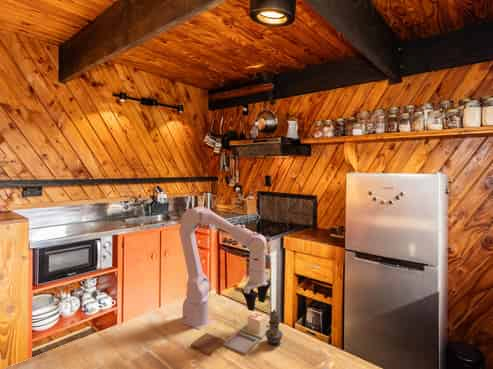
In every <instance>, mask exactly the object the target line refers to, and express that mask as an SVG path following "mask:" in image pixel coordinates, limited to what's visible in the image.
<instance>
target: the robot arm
mask: <svg viewBox="0 0 493 369" xmlns="http://www.w3.org/2000/svg"><path fill="white" fill-rule="evenodd" d="M200 225H213V226H215V227H216V228H218V229H221V230H222V231H225V232H226V233H228V234H229V235H230V239H232V240H234V241H236V242H237V243H239V244H240V245H242V246H245V247H246V248H247V249H248V250H249V263H248V264H249V266H248V269H249V270H248V281H247V283H246V284H245V286H243V289H241V294H242V295H243V297H244V299H245V302H246V307H247V310H248V311H251V312H254V311H255V307H256V300H258V302H259V303H263V304H264V303H265V301H266V296H267V294H268V291H269V289H270V287H271V286H272V283H271V282H269V280H270V279H269V278H270V276H269V275H268V274H266V247H267V244H268V242H267V239H266V237H265V236H264V235H263V234H262V233H258V232H256V231H252V230H250V229H248V228H246V225H245V224H242V225H241V224H236V225H234V224H233V223H231V222H230V221H228V220H227V219H225V218H223V217H222V216H220V215H218V214H217V213H216V212H214V211H213V210H211V209H210V208H207V207H205V206H203V205H198V206H195V207H192V208H188V209H187V210H185V211H184V213H183V214H182V215H181V222H180V226H179V229H178V230H179V231H178V232H179V237H180V242H181V246H182V250H183V256H184V259H185V260H184V261H185V265H186V270H187V274H188V279H187V281H186V288H187V290H186V298H185V299H184V300H183V303H182V320H181V321H180V323H182V324H184V325H186V326H189V327H192V328H194V329H196V330H199V331H200V330H202V329H203V328H204V327H206V326H207V325H209V324H210V323H212V322H213V320H214V319H213V318H210V317H209V293H210V290H211V288H212V285H211V282H210V280H208V278H207V275H206V273H205V272H204V270H203V266H202V262H201V259H200V254H199V253H200V252H199V248H198V243H197V238H196V234H195V232H196V231H197V229H198V228H199V226H200ZM254 289H257V292H256V291H255V290H254Z"/></svg>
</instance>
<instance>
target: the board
mask: <svg viewBox="0 0 493 369" xmlns="http://www.w3.org/2000/svg"><path fill="white" fill-rule="evenodd" d="M225 341H226V340H225V339H223V338H222V337H218V336H216V335H214V334H210V333H208V332H206V333H204V334H202V335H201V336H200V337H198V338H197V339H196V340H194V341H193V342H192V343H191V344H190V347H191V349H194V350H196V351H199V352H201V353H203V354H206V355H207V356H211V355H212V354H213V353H214V352H215V351H216V350H218V348H220V347H221V346H223V343H224V342H225Z"/></svg>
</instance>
